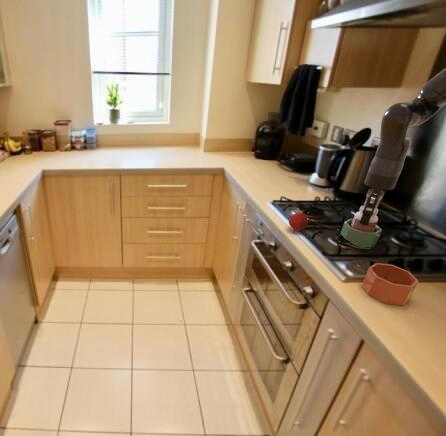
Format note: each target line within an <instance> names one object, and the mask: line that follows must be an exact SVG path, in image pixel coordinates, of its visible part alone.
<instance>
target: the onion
mask: <svg viewBox="0 0 446 436" xmlns="http://www.w3.org/2000/svg"><path fill="white" fill-rule="evenodd" d="M308 223H309V219H308V217H307V215H306V214H305V213H304V212H303V211H302V210H299V211H298V212H295V213H293V214H292V215H290V217H289V218H288V224H289V226H290V228H291V229H292V230H293V231H294V232H299V231H302V230H304V229H306V227H307V226H308Z"/></svg>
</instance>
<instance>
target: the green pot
mask: <svg viewBox="0 0 446 436" xmlns="http://www.w3.org/2000/svg"><path fill="white" fill-rule="evenodd" d="M353 219H354V218H349V219H346V221H345V220H344V223H343V224H342V228H341V231H340V234H341V235H342V236H343V237H344V238H345V239H346V240H348V241H350V242H351V243H352V244H354V245H356V246H360V247H356V246H354V245H351V244H349V243H344V244H345V245H348V246H350V247H352V248H355V249H360V250H361V249H363V250H371V249H373V248H374V247H376V245H377V242H378V241H379V238H380V236H381V234H382V231H383V229H382V228H380V226H378V225H377V224H376V226H375V228H374V231H373V232H362V231H360V230H357V229H354V228H351V224H352V221H353ZM340 234H339V235H340ZM375 244H376V245H375ZM373 245H374V246H373ZM372 246H373V247H372ZM364 247H371V248H364Z"/></svg>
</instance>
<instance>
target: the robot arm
mask: <svg viewBox="0 0 446 436" xmlns="http://www.w3.org/2000/svg"><path fill="white" fill-rule="evenodd" d="M444 106H446V67H445V68H443V69H442V70H441V71H439V72H438V73H437V74H436V75H434V76H433V77H432V78H431V79H429V80H428V81H426V83H424V84H423V85H422V86H421V88H420V89H419V95H417V96H416V97H415V98H413V99H412V100H411V101H404V102H403V101H401V102H396V103H394V104H392V105H391V106H389V107H388V108H387V109H386V110H385V112H384V114H383V115H382V119H381V123H380V134H379V143H378V147H377V149H376V151H375V155H374V157H373V158H372V160H371V162H370V165H369V167H368V171H367V173H366V176H365V179H364V181H363V184H364V185H365V186H367V187H368V188H369V189H368V191H367V193H366V195H365V197H366V198H365V201H364V203H363V205H364V206H365V207H364V210H363V211H362V212H363V215H362V217H361V220H360V224H362V225H368V223H369V221H370V218H371V216H372V215H373V212H374V209H376V208H377V209H378V207H379V204H380V202H381V200H382V199H383V197H384V195H385V191H392V190H394V189H395V187H396V186H397V183H398V180H399V178H400V175H401V173H402V170H403V168H404V164H405V160H406V157H407V155H408V153H409V150H410V148H411V145H412V141H411V139H410V138H409V137H407V133H408V129H409V128H415V127H417V126H418V127H419V126H420V125H422V124H423V123H425V122H426V121H428V120H430V119H431V118H432V117H434V116H435V115H436V114H437V113H438V112H440V110H441V109H442V108H443V107H444ZM370 188H371V189H370ZM366 208H371V209H372V211H368V210H366Z"/></svg>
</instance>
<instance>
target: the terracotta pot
mask: <svg viewBox="0 0 446 436" xmlns="http://www.w3.org/2000/svg"><path fill="white" fill-rule="evenodd" d="M419 281H420V280H418V279H417V278H416V277H415V276H414V274H412V272H410V271H408V270H406V269H405V268H404V269H403V268H401V267H399V266H397V265H394V264H389V263H380V262H375V263H374V264H372V265H371V266H369V267H368V269H367V271H366V274H365V276H364V279H363V280H362V283H361V287H362V288H363V290H364V291H365V293H366V294H367V295H368V296H369V297H372V298H374V299H376V301H377V300H378V301H379V302H381V303H384V304H386V305H396V306H404V305H405V304H407V303H408V301H410V299H411V297H412V295H413V293H414V291H415V289H416V287H417V286H418V284H419Z"/></svg>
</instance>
